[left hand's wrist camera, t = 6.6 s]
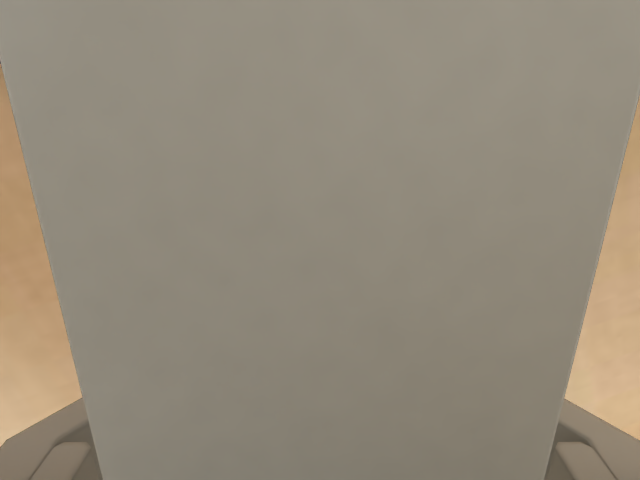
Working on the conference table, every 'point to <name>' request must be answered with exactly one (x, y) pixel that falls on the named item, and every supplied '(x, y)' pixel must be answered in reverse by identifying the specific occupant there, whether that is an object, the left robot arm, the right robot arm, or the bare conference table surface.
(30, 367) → the conference table surface
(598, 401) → the conference table surface
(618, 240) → the conference table surface
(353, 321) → the bar
